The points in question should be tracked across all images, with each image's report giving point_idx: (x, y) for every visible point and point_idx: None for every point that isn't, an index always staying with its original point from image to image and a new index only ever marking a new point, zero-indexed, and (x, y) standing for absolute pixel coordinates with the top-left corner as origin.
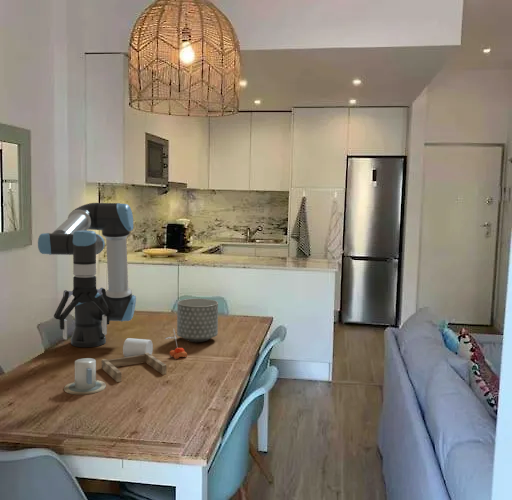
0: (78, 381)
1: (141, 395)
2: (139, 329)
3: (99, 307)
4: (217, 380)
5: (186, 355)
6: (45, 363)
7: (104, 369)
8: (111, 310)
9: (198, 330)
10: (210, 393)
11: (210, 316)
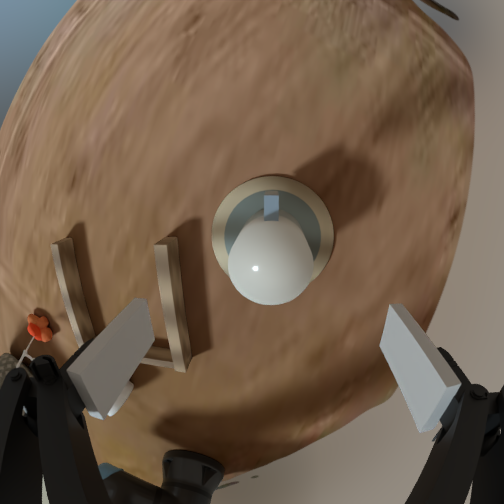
0: (300, 227)
1: (151, 105)
2: (112, 458)
3: (74, 462)
4: (13, 152)
5: (30, 314)
6: (300, 426)
7: (188, 340)
8: (15, 388)
9: (9, 369)
10: (44, 83)
11: None
